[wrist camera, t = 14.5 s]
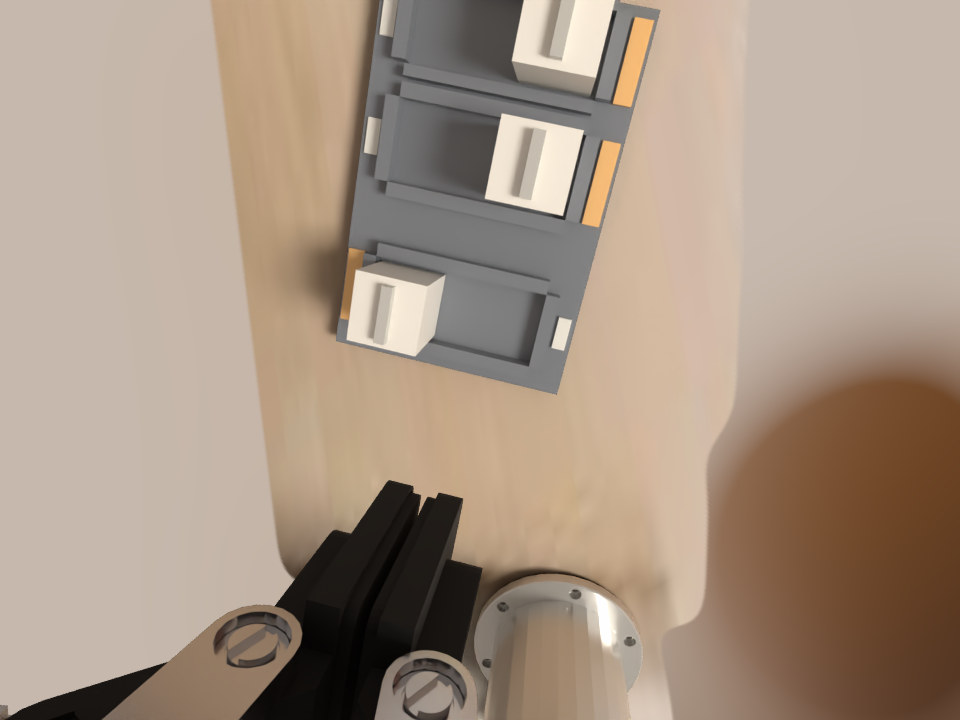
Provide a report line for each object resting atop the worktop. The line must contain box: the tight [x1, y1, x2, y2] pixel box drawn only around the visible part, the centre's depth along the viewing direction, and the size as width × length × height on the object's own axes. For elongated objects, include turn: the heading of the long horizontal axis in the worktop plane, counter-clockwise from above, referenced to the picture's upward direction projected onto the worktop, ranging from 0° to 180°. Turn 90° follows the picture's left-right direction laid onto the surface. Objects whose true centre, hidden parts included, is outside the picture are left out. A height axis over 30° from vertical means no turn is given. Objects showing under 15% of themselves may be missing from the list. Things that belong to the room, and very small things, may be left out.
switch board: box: [336, 0, 660, 395], centre depth 30 cm, size 22×15×7 cm
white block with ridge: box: [485, 113, 584, 216], centre depth 28 cm, size 4×4×6 cm
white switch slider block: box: [346, 260, 446, 356], centre depth 31 cm, size 4×4×6 cm
